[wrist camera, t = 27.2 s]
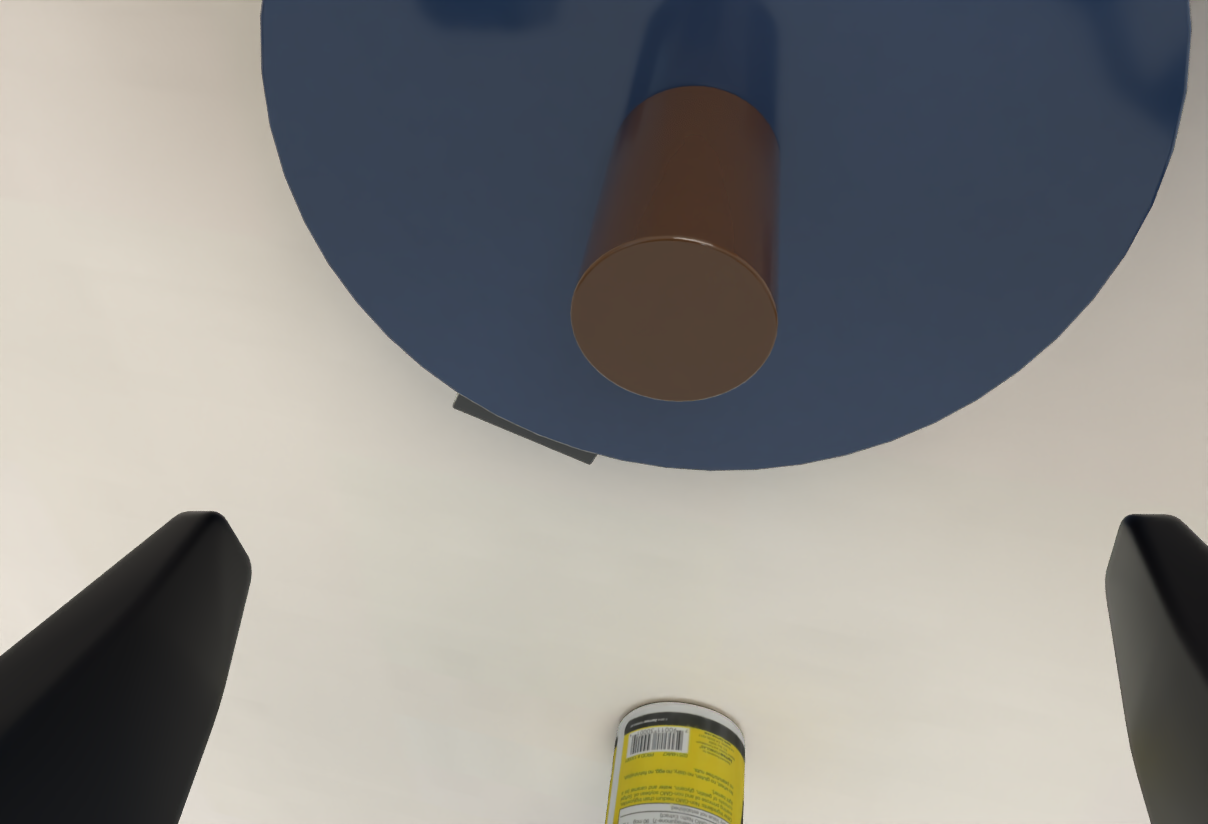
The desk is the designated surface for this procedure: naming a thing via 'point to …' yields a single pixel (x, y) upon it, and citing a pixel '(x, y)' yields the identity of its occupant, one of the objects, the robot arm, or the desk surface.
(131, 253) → the desk surface
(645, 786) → the supplement bottle
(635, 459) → the lid
